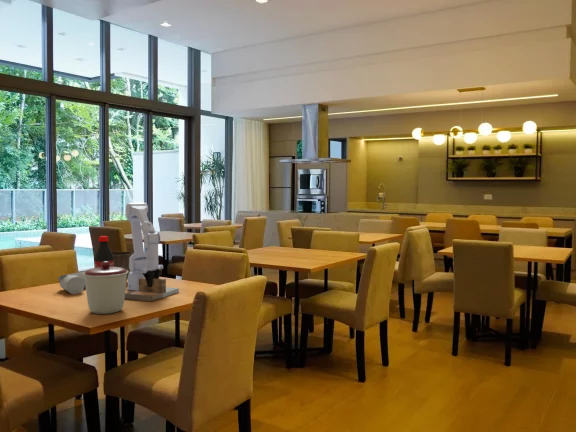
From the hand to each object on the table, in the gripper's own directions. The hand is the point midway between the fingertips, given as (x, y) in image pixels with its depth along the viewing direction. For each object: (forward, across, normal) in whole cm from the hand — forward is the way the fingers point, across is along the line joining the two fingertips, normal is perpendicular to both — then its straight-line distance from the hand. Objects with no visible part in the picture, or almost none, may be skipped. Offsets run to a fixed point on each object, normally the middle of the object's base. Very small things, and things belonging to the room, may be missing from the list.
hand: (152, 285), depth 250 cm
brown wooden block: (+2, 0, 0) cm, 3 cm away
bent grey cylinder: (+5, -2, +44) cm, 44 cm away
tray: (+5, -8, 0) cm, 9 cm away
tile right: (+4, -6, -4) cm, 8 cm away
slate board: (+5, +4, 0) cm, 6 cm away
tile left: (+4, -6, +4) cm, 8 cm away
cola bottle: (+5, -21, +10) cm, 24 cm away
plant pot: (+5, +22, +38) cm, 44 cm away
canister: (+5, -34, -2) cm, 34 cm away
